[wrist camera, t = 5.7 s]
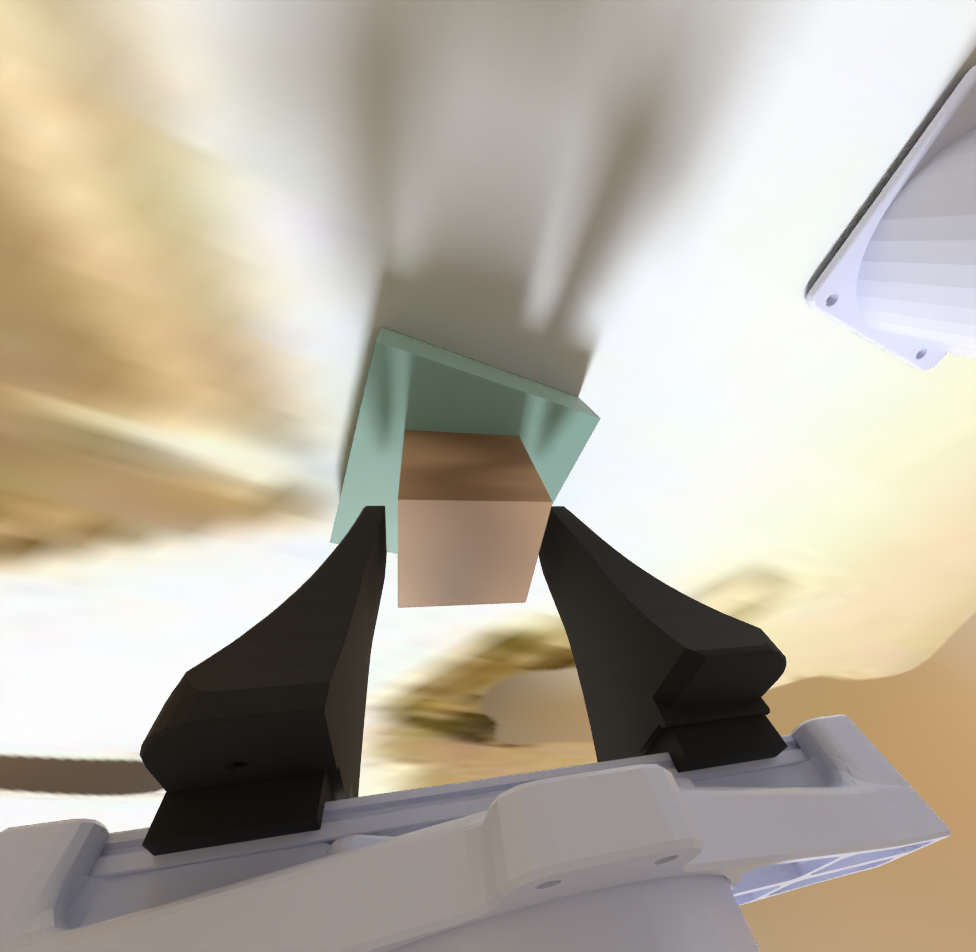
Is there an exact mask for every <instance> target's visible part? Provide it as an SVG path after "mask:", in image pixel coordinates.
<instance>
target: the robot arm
mask: <svg viewBox="0 0 976 952" xmlns="http://www.w3.org/2000/svg"><path fill="white" fill-rule="evenodd" d="M828 297H829V299H828ZM827 299H828V301H827ZM826 301H827V302H826ZM806 304H807V305H808V306H809V307H810V308H812V309H814V310H816V311H817V312H819V313H821V314H823V315H824V316H826V317H828V318H829V319H831V320H833V321H835V322H836V323H838V324H840V325H842V326H843V327H845V328H847V329H848V330H850V331H852V332H854V333H855V334H857V335H859V336H860V337H862V338H864V339H866V340H867V341H869V342H871V343H873V344H874V345H876V346H878V347H879V348H881V349H883V350H885V351H886V352H888V353H890V354H892V355H893V356H895V357H897V358H898V359H900V360H902V361H904V362H905V363H907V364H909V365H910V366H912V367H914V368H916V369H920V370H928V369H930V368H932V367H934V366H935V365H936V364H937V363H938V362H939V361H940V360H941V359H942V358H943V357H944V356H945V355H946V354H947V353H952V354H957V355H962V356H967V357H971V358H976V65H975V66H973V67H972V68H971V69H970V70H969V71H968V72H967V73H966V75H965V76H964V77H963V79H962V80H961V81H960V83H959V84H958V85H957V87H956V88H955V90H954V91H953V92H952V94H951V95H950V97H949V98H948V99H947V101H946V102H945V104H944V105H943V106H942V108H941V109H940V110H939V112H938V113H937V115H936V116H935V117H934V119H933V120H932V122H931V123H930V124H929V126H928V127H927V128H926V130H925V131H924V133H923V134H922V135H921V137H920V138H919V140H918V141H917V142H916V144H915V145H914V146H913V148H912V149H911V151H910V152H909V153H908V155H907V156H906V158H905V159H904V160H903V162H902V163H901V165H900V166H899V167H898V169H897V170H896V171H895V173H894V174H893V176H892V177H891V178H890V180H889V181H888V183H887V184H886V185H885V187H884V188H883V189H882V191H881V192H880V194H879V195H878V196H877V198H876V199H875V201H874V202H873V203H872V205H871V206H870V207H869V209H868V210H867V212H866V213H865V214H864V216H863V217H862V219H861V220H860V221H859V223H858V224H857V226H856V227H855V228H854V230H853V231H852V232H851V234H850V235H849V237H848V238H847V239H846V241H845V242H844V244H843V245H842V246H841V248H840V249H839V250H838V252H837V253H836V255H835V256H834V257H833V259H832V260H831V262H830V263H829V264H828V266H827V267H826V268H825V270H824V271H823V273H822V274H821V275H820V277H819V278H818V280H817V281H816V282H815V284H814V285H813V287H812V288H811V289H810V291H809V293H808V294H807V298H806ZM386 554H387V545H386V514H385V506H365V507H364V508H363V509H362V511H361V513H360V515H359V516H358V518H357V519H356V521H355V523H354V524H353V526H352V527H351V528H350V530H349V531H348V533H347V534H346V535H345V537H344V538H343V539H342V541H341V542H340V543H339V545H338V546H337V547H336V549H335V550H334V551H333V552H332V553H331V555H330V556H329V557H328V558H327V559H326V560H325V562H324V563H323V564H322V565H321V566H320V567H319V569H318V570H317V571H316V572H315V573H314V574H313V575H312V576H311V577H310V578H309V579H308V580H307V581H306V582H305V583H304V584H303V585H302V586H301V587H300V588H299V589H298V590H297V591H296V592H295V593H294V594H292V595H291V596H290V597H289V598H288V599H287V600H286V601H285V602H284V603H282V604H281V605H280V606H279V607H278V608H277V609H275V610H274V611H273V612H272V613H271V614H269V615H268V616H267V617H266V618H264V619H263V620H262V621H260V622H259V623H258V624H256V625H255V626H254V627H252V628H251V629H250V630H249V631H247V632H246V633H245V634H243V635H242V636H241V637H239V638H238V639H236V640H235V641H234V642H232V643H231V644H229V645H228V646H226V647H225V648H223V649H222V650H220V651H219V652H217V653H215V654H214V655H212V656H211V657H209V658H208V659H206V660H205V661H203V662H202V663H200V664H199V665H197V666H195V667H194V668H192V669H190V670H189V671H187V672H186V673H185V675H184V676H183V678H182V679H181V681H180V682H179V684H178V685H177V686H176V688H175V689H174V691H173V692H172V693H171V695H170V697H169V698H168V700H167V701H166V703H165V704H164V706H163V708H162V710H161V712H160V713H159V715H158V717H157V719H156V720H155V722H154V724H153V726H152V728H151V729H150V731H149V733H148V735H147V737H146V738H145V740H144V742H143V744H142V746H141V751H140V756H141V758H142V760H143V762H144V764H145V766H146V768H147V769H148V770H149V771H150V773H151V774H152V775H153V776H154V777H155V778H156V780H157V781H158V782H159V783H160V784H161V786H162V787H163V788H164V789H165V790H166V794H165V796H164V798H163V800H162V802H161V805H160V807H159V809H158V811H157V813H156V815H155V818H154V820H153V822H152V824H151V826H150V828H143V829H136V830H129V831H122V832H115V833H109V832H108V830H107V828H106V827H105V825H103V824H102V823H101V822H98V821H96V820H91V819H70V820H63V821H55V822H48V823H41V824H33V825H26V826H19V827H11V828H7V829H6V830H4V831H2V832H0V952H761V951H760V949H759V947H758V945H757V943H756V941H755V939H754V937H753V935H752V933H751V930H750V928H749V927H748V924H747V922H746V920H745V918H744V916H743V914H742V912H741V910H740V908H739V905H743V904H746V903H750V902H753V901H757V900H760V899H764V898H767V897H770V896H774V895H777V894H781V893H784V892H787V891H791V890H795V889H798V888H801V887H805V886H809V885H812V884H815V883H819V882H823V881H826V880H830V879H834V878H837V877H841V876H845V875H849V874H853V873H857V872H861V871H864V870H868V869H872V868H876V867H879V866H881V865H883V864H886V863H888V862H890V861H893V860H895V859H897V858H900V857H902V856H904V855H907V854H909V853H911V852H913V851H916V850H918V849H920V848H923V847H925V846H927V845H930V844H932V843H934V842H937V841H939V840H941V839H944V838H946V837H948V836H951V830H950V829H949V828H948V827H947V825H946V824H945V823H944V822H943V821H942V820H941V819H940V818H939V817H938V815H937V814H936V813H935V812H934V811H933V810H932V809H931V808H930V807H929V806H928V805H927V803H926V802H925V801H924V800H923V799H922V798H921V797H920V796H919V795H918V793H917V792H916V791H915V790H914V789H913V788H912V787H911V786H910V785H909V784H908V782H907V781H906V780H905V779H904V778H903V777H902V776H901V775H900V774H899V772H898V771H896V769H895V768H894V767H893V766H892V765H891V764H890V763H889V761H888V760H887V759H886V758H885V757H884V756H883V755H882V754H881V753H880V752H879V750H878V749H877V748H876V747H875V746H874V745H873V744H872V743H871V742H870V741H869V740H868V738H867V737H866V736H865V735H864V734H863V733H862V732H861V731H860V729H858V727H857V726H856V725H855V724H854V723H853V722H852V721H851V720H850V718H849V717H848V716H846V715H843V714H840V715H832V716H825V717H818V718H813V719H809V720H807V721H804V722H803V723H801V724H800V725H798V726H797V727H796V728H795V729H794V730H793V731H792V734H790V735H783V736H780V735H779V733H778V732H777V731H776V729H775V728H774V727H773V725H772V724H771V723H770V721H769V720H768V718H767V717H766V716H765V715H767V714H769V713H770V709H769V707H768V706H767V705H766V704H765V702H764V701H763V699H762V698H761V696H763V695H764V694H765V693H766V692H767V690H768V689H769V688H770V687H771V686H772V685H773V684H774V683H775V682H776V681H777V680H778V679H779V678H780V676H781V675H782V674H783V672H784V670H785V667H786V657H785V656H784V655H783V654H782V652H781V651H780V650H779V649H778V648H777V647H776V646H775V644H774V643H773V642H772V641H771V640H770V639H769V638H768V636H767V635H766V634H765V633H764V632H763V631H762V630H761V629H760V628H758V627H755V626H753V625H750V624H748V623H745V622H743V621H740V620H738V619H736V618H733V617H731V616H728V615H726V614H723V613H721V612H719V611H717V610H715V609H713V608H711V607H708V606H706V605H704V604H702V603H700V602H698V601H696V600H694V599H692V598H690V597H688V596H686V595H684V594H683V593H681V592H679V591H677V590H675V589H674V588H672V587H670V586H668V585H666V584H665V583H663V582H661V581H660V580H658V579H656V578H655V577H653V576H652V575H650V574H649V573H647V572H646V571H644V570H643V569H641V568H639V567H638V566H637V565H635V564H634V563H632V562H631V561H629V560H628V559H627V558H625V557H624V556H623V555H621V554H620V553H619V552H617V551H616V550H615V549H614V548H612V547H611V546H610V545H609V544H607V543H606V542H605V541H604V540H602V539H601V538H600V537H599V536H598V535H597V534H595V533H594V532H593V531H592V530H591V529H590V528H588V527H587V526H586V525H585V524H584V523H583V522H582V521H580V520H579V519H578V518H577V517H576V516H575V515H573V514H572V513H571V512H570V511H569V510H567V509H566V508H565V507H564V506H551V510H550V514H549V517H548V521H547V525H546V528H545V532H544V536H543V539H542V543H541V547H540V551H539V558H540V563H541V566H542V570H543V574H544V576H545V579H546V582H547V584H548V587H549V590H550V592H551V595H552V597H553V600H554V602H555V605H556V607H557V610H558V612H559V615H560V617H561V620H562V622H563V625H564V627H565V630H566V633H567V636H568V639H569V643H570V646H571V650H572V653H573V657H574V660H575V664H576V668H577V672H578V676H579V679H580V683H581V687H582V691H583V695H584V699H585V704H586V709H587V712H588V717H589V721H590V726H591V731H592V736H593V741H594V746H595V751H596V756H597V761H598V762H597V763H591V764H584V765H577V766H570V767H563V768H556V769H549V770H542V771H535V772H529V773H522V774H515V775H508V776H501V777H494V778H487V779H480V780H473V781H467V782H460V783H453V784H446V785H439V786H432V787H425V788H418V789H411V790H405V791H398V792H391V793H384V794H377V795H370V796H363V797H358V790H359V777H360V764H361V752H362V740H363V728H364V717H365V706H366V695H367V684H368V674H369V664H370V654H371V647H372V640H373V635H374V630H375V625H376V620H377V615H378V610H379V605H380V599H381V594H382V589H383V584H384V579H385V567H386Z"/></svg>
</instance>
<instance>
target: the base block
mask: <svg viewBox="0 0 976 952" xmlns="http://www.w3.org/2000/svg"><path fill="white" fill-rule="evenodd" d="M599 420H600V417H599V416H598V415H596V414H595V413H594V412H593V411H592V410H591V409H590V408H589V407H588V406H587V405H586V404H585V403H584V402H583V401H582V400H581V399H580V398H579V397H576V396H573V395H571V394H568V393H565V392H562V391H559V390H557V389H554V388H551V387H548V386H545V385H543V384H540V383H537V382H534V381H531V380H529V379H526V378H523V377H520V376H518V375H515V374H512V373H509V372H506V371H504V370H501V369H498V368H495V367H492V366H490V365H487V364H484V363H481V362H478V361H476V360H473V359H470V358H467V357H464V356H462V355H459V354H456V353H453V352H451V351H448V350H445V349H442V348H439V347H437V346H434V345H431V344H428V343H425V342H423V341H420V340H417V339H414V338H411V337H409V336H406V335H403V334H400V333H397V332H395V331H392V330H389V329H386V328H383V327H382V328H381V331H380V333H379V335H378V337H377V339H376V341H375V346H374V350H373V354H372V359H371V363H370V368H369V372H368V377H367V381H366V385H365V390H364V394H363V399H362V403H361V407H360V412H359V416H358V421H357V425H356V430H355V434H354V438H353V443H352V447H351V452H350V456H349V461H348V465H347V469H346V474H345V478H344V483H343V487H342V492H341V496H340V500H339V505H338V509H337V514H336V518H335V523H334V527H333V531H332V536H331V540H330V543H336V544H339V543H340V542H341V541H342V539H343V538H344V537H345V535H346V534H347V533H348V531H349V530H350V528H351V527H352V526H353V524H354V523H355V521H356V519H357V518H358V516H359V515H360V513H361V511H362V509H363V508H364V507H365V506H385V514H386V545H387V552H391V553H397V554H398V492H399V481H400V471H401V460H402V450H403V439H404V430H414V431H433V432H453V433H472V434H492V435H511V436H519V437H520V439H521V441H522V443H523V445H524V447H525V449H526V450H527V452H528V454H529V456H530V458H531V460H532V462H533V464H534V466H535V468H536V470H537V472H538V474H539V476H540V478H541V480H542V482H543V484H544V486H545V488H546V490H547V492H548V494H549V496H550V498H551V500H552V504H553V502H554V500H555V498H556V496H557V495H558V493H559V491H560V489H561V488H562V486H563V484H564V482H565V480H566V479H567V477H568V475H569V473H570V472H571V470H572V468H573V466H574V464H575V463H576V461H577V459H578V457H579V456H580V454H581V452H582V450H583V448H584V447H585V445H586V443H587V441H588V440H589V438H590V436H591V434H592V432H593V431H594V429H595V427H596V425H597V424H598V422H599Z"/></svg>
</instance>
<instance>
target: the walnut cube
mask: <svg viewBox="0 0 976 952" xmlns="http://www.w3.org/2000/svg"><path fill="white" fill-rule="evenodd" d="M551 506H552V500H551V498H550V496H549V494H548V492H547V490H546V488H545V486H544V484H543V482H542V480H541V478H540V476H539V474H538V472H537V470H536V468H535V466H534V464H533V462H532V460H531V458H530V456H529V454H528V452H527V450H526V449H525V447H524V445H523V443H522V441H521V439H520V437H519V436H511V435H492V434H472V433H453V432H433V431H414V430H404V439H403V450H402V460H401V471H400V481H399V492H398V608H404V607H428V606H452V605H475V604H499V603H523V602H526V599H527V595H528V591H529V588H530V584H531V580H532V576H533V573H534V569H535V565H536V562H537V558H538V554H539V551H540V547H541V543H542V539H543V536H544V532H545V528H546V525H547V521H548V517H549V514H550V510H551Z"/></svg>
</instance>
